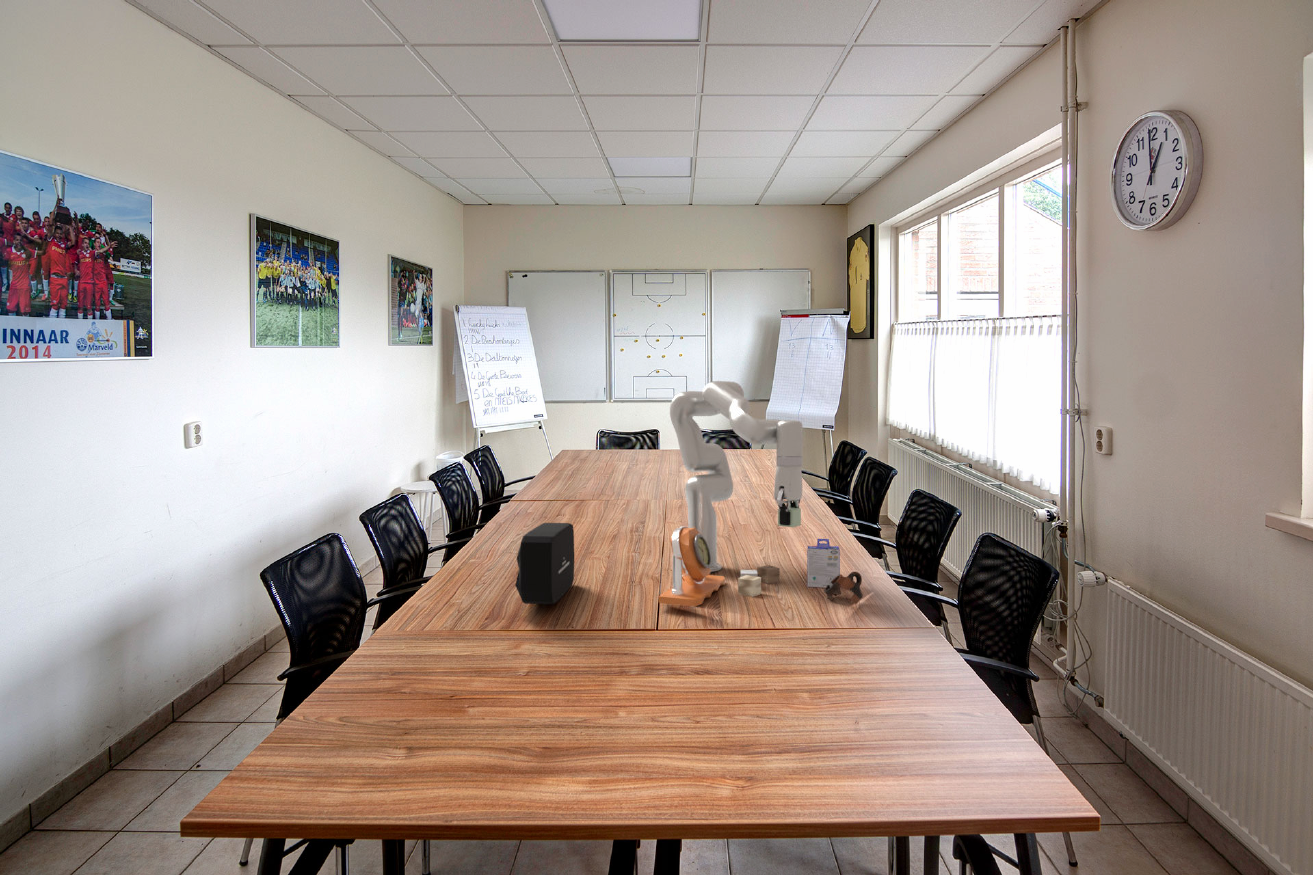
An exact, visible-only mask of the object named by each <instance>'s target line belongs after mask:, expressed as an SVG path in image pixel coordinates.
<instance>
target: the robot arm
mask: <svg viewBox="0 0 1313 875" xmlns="http://www.w3.org/2000/svg"><path fill="white" fill-rule="evenodd" d="M743 389H744V388H742V386H741V385H740V384H739V383H738V382H735V381H731V380H730V381H726V380H724V381H723V380H714V381H710V382H708V383H706V385H705V386H704V387H703V389H702V391H698V390H697V391H696V390H685V391H681V392H679V393H677V394H675V396H674V397H673V398H672V400H671V401H670V402H671V403H670V406H669V417H670V421H671V425H672V426H673V429H674V431H675V434H676V437H677V441H678V447H679V451H680V456H681V459H682V463H683V465H684V468H685V469H686V470H687V471H688V472H693V473H699V472H700V473H701V472H707V473H706V474H698V475H694V476H691V477H690V478H689V479H688V480H687V481H686V483H685V485H684V486H685V487H684V492H685V498H686V499H685V500H686V504H687V523H688V526H687V527H689V528H693V527H695V528H696V529H697V531H698V532H699V533H700V534H701V535H702V536H703V537H704V538H705V540H706V542H707V544H708V546H709V549H710V553H711V567H710V571H711V572H710V573H713V572H718V571H720V570H721V569H722V564H720V563H718V560H717V558H718V557H717V556H718V555H717V554H718V552H717V546H718V544H717V537H718V536H717V529H718V528H717V526H718V525H717V522H718V521H717V520H718V519H717V514H716V510H715V508H714V506H713V504H712V503H717V502H722V501H727V500H729V499H730V498H731V497H732V495H733V492H734V483H733V478H732V473H731V469H730V466H729V463H728V458H727V455H726V452H725V450H724V449H723V447H721V445H719V444H717V443H710V442H709V443H708V442H707V443H706V442H705V440H704V436H703V433H702V430H701V429H702V428H700V426H699V425H698V424H699V423H697V421H696V420H694V417H712V416H716V415H719V414H721V415H722V416H724V417H725V418H726V419H728V421H729V425H730V427H731V429H732V431H733V432H734V433H735V434H736V435H737V436H738V437H740V438H741V439H742V440H743V441H745V442H747V443H749V444H751V445H754V446H755V445H757V446H758V445H759V446H760V445H776V470H775V476H774V486H773V487H774V490H773V499H774V501H775V502H776V504H777V506H778V509H779V511H780V525H790V512H789V507H790V508H800V503H801V499H802V496H803V475H802V468H803V441H804V440H803V435H804V433H803V430H804V429H803V428H804V427H803V423H802V422H801V421H800V420H791V419H788V420H787V419H785V420H781V419H768V418H767V419H762V418H761V419H758V418H757V419H756V418H755V417H753V416H751V415H750V414H749V412H750V407H751V405H750V402H749V399H747V398H746V397H745V393H744V390H743Z"/></svg>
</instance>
